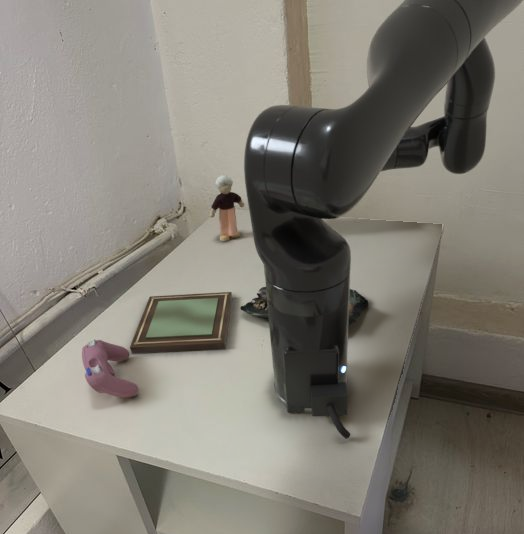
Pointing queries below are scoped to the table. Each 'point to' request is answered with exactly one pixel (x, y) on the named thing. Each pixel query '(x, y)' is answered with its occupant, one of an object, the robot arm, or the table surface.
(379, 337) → the table surface
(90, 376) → the video game controller
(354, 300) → the decorative rock
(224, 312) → the board
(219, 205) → the grandmother figurine
